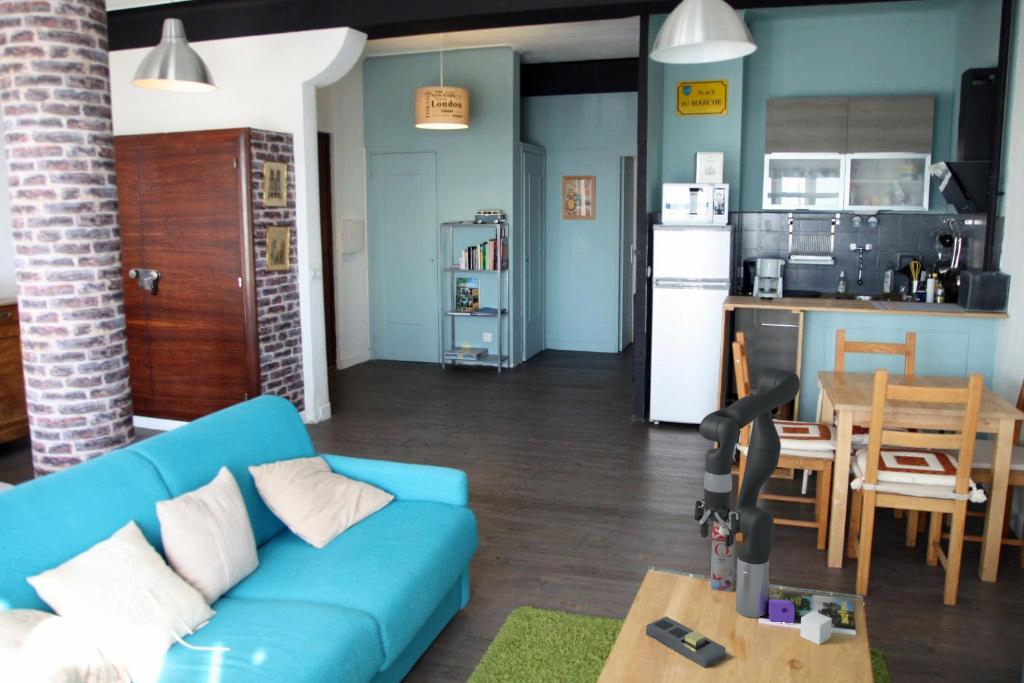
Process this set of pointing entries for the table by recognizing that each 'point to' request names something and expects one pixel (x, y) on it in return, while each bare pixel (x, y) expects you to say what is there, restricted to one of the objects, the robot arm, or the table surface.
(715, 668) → the table surface
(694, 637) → the brushed gold cube
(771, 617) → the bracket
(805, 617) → the light grey cube
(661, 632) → the silver slotted board
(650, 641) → the table surface
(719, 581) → the juice carton
